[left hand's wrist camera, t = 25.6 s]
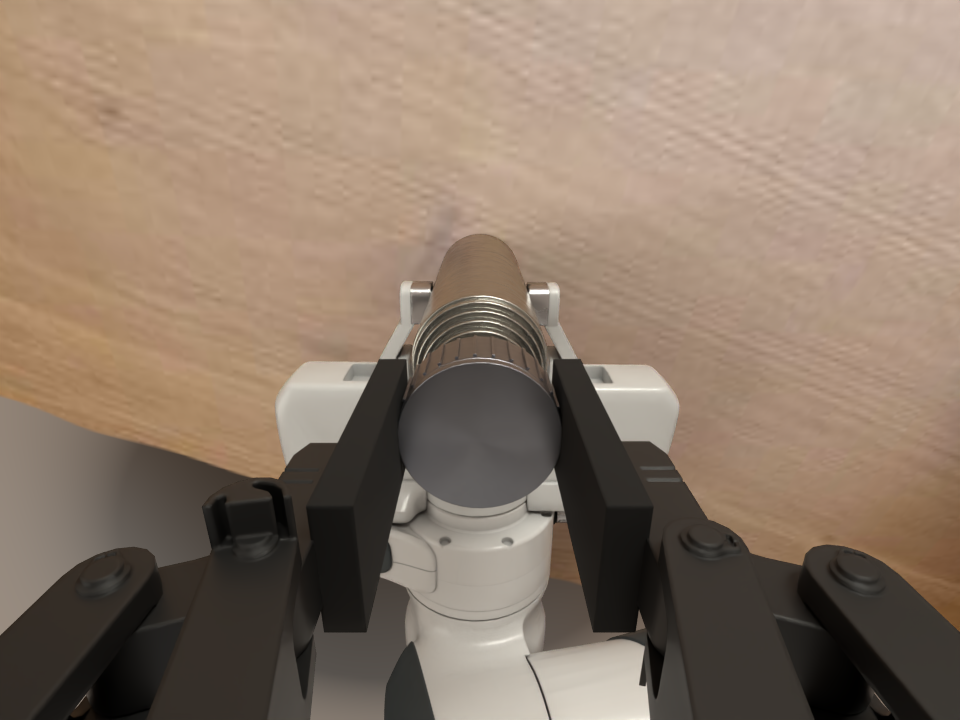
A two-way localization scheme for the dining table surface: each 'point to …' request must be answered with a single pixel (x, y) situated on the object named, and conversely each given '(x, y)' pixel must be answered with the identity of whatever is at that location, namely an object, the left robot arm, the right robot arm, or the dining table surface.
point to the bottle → (479, 301)
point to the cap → (479, 423)
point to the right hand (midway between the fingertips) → (479, 283)
